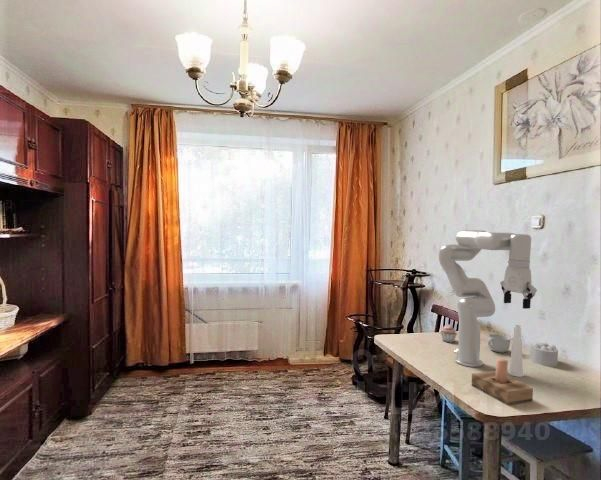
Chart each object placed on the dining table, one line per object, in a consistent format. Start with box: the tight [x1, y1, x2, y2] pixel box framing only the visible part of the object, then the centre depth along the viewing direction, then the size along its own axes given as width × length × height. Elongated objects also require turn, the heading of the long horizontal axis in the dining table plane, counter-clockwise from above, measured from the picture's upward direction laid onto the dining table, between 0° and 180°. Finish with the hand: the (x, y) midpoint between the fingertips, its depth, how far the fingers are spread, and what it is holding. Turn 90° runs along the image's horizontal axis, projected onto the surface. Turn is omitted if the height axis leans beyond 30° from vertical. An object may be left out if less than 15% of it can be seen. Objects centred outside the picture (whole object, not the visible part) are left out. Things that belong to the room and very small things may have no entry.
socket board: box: [470, 370, 534, 406], centre depth 150 cm, size 18×12×5 cm, turn 18°
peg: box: [495, 358, 509, 384], centre depth 150 cm, size 4×4×12 cm
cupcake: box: [439, 323, 458, 343], centre depth 221 cm, size 9×9×10 cm
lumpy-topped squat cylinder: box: [529, 342, 559, 368], centre depth 188 cm, size 10×13×9 cm
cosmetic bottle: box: [507, 324, 525, 378], centre depth 170 cm, size 6×6×22 cm
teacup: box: [487, 333, 512, 354], centre depth 204 cm, size 14×11×8 cm
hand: (516, 305), depth 157 cm, fingers open, 9 cm apart
